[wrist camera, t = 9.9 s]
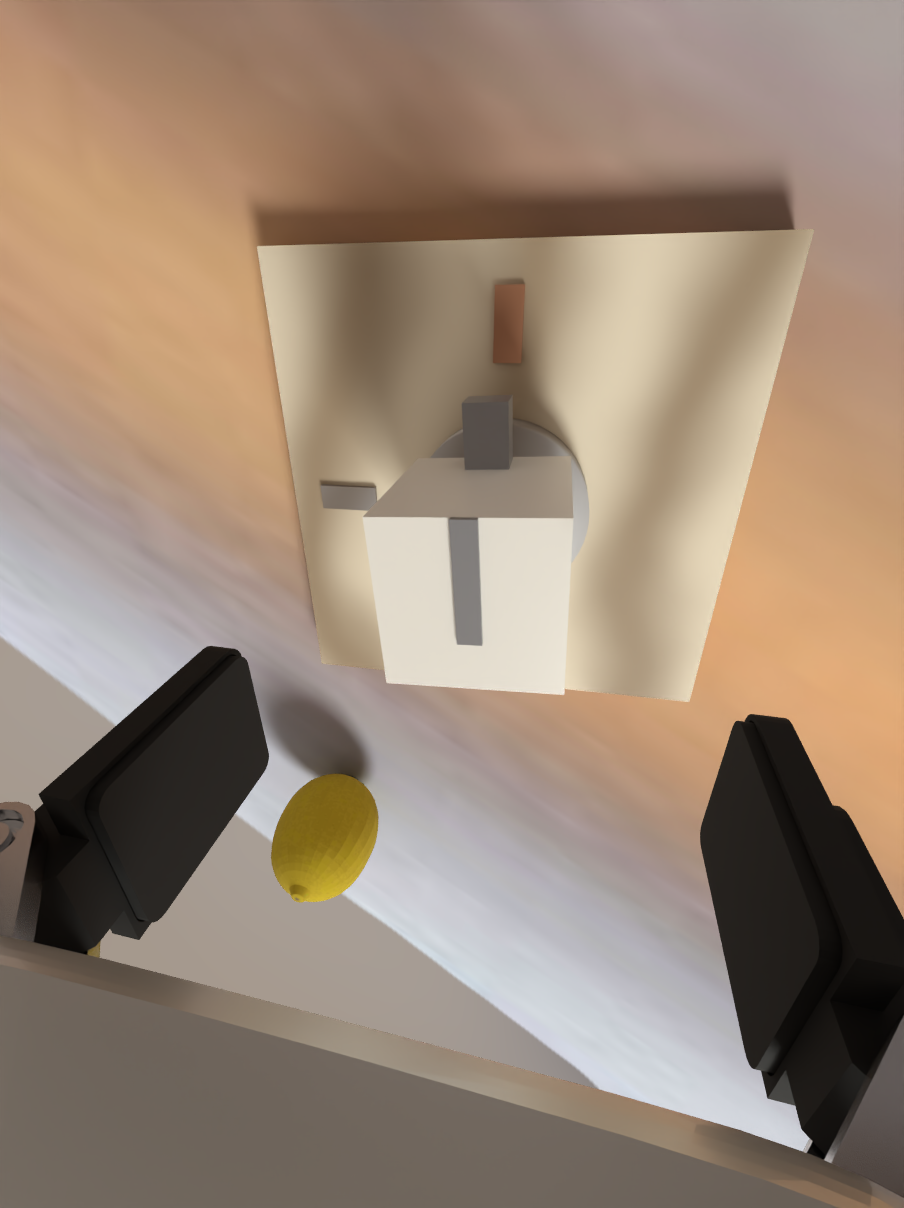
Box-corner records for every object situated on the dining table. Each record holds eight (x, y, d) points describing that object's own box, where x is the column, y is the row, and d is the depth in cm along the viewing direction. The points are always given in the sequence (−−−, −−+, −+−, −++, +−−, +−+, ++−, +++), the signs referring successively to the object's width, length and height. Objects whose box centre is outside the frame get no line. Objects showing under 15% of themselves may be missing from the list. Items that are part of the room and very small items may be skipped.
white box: (564, 595, 20) (564, 698, 15) (429, 590, 21) (384, 685, 16) (574, 391, 17) (578, 431, 11) (412, 397, 18) (348, 437, 12)
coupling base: (795, 234, 17) (853, 216, 14) (682, 682, 26) (700, 739, 23) (276, 250, 20) (217, 238, 17) (332, 647, 29) (301, 693, 26)
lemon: (295, 751, 34) (226, 866, 27) (373, 741, 32) (321, 861, 25) (331, 812, 36) (276, 932, 29) (406, 806, 34) (366, 932, 27)
